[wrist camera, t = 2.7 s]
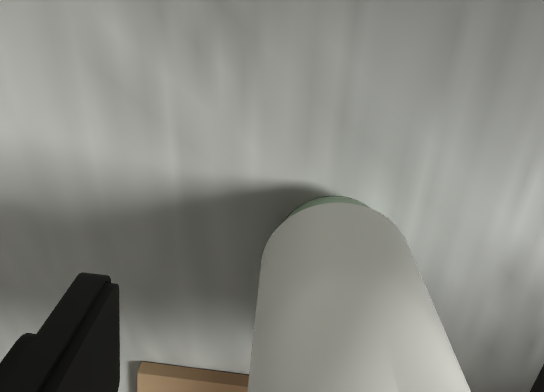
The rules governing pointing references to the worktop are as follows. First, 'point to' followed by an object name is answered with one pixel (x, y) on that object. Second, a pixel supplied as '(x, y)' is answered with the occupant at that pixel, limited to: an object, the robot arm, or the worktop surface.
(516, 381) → the worktop surface
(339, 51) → the worktop surface
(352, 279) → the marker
